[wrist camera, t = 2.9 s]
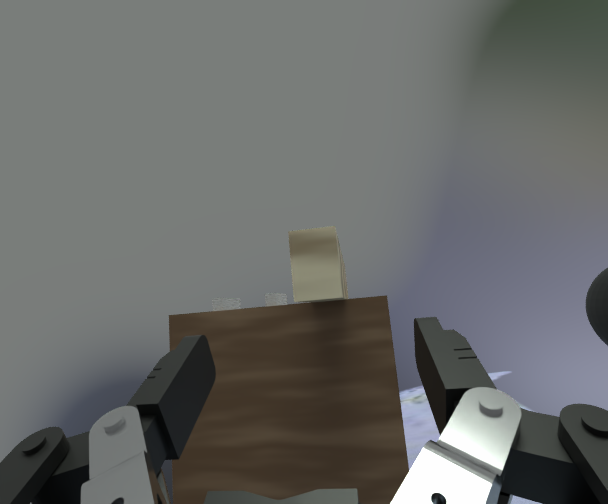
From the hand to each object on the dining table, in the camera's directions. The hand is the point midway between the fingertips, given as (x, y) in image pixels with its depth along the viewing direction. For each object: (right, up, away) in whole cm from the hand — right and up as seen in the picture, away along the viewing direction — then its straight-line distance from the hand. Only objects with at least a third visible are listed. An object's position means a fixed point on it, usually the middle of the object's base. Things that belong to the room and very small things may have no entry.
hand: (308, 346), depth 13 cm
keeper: (-6, -3, +28) cm, 29 cm away
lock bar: (+2, -1, +19) cm, 19 cm away
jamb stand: (+1, -34, +19) cm, 39 cm away
